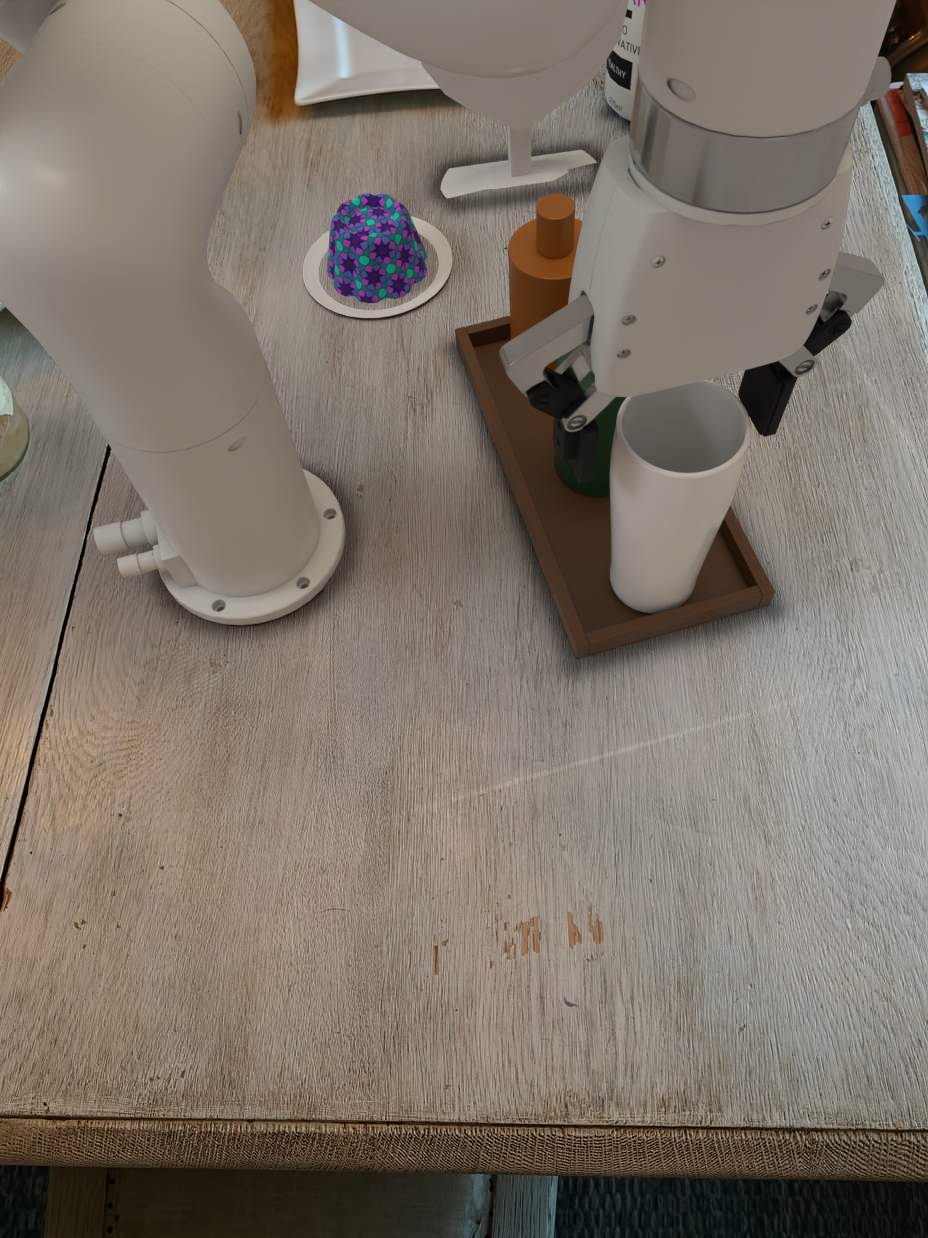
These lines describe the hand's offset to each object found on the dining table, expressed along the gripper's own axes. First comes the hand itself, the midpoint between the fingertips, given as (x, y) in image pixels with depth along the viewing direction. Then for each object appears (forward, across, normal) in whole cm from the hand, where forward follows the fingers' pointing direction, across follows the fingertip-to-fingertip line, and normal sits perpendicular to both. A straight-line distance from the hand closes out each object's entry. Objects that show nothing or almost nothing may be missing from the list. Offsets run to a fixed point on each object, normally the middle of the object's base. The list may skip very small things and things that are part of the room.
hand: (666, 437), depth 48 cm
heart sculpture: (+15, -5, -40) cm, 43 cm away
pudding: (+15, +9, -34) cm, 38 cm away
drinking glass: (+14, -1, 0) cm, 14 cm away
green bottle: (+14, -1, -10) cm, 17 cm away
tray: (+14, -1, -10) cm, 17 cm away
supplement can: (+15, -19, -46) cm, 52 cm away
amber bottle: (+14, -1, -20) cm, 24 cm away
